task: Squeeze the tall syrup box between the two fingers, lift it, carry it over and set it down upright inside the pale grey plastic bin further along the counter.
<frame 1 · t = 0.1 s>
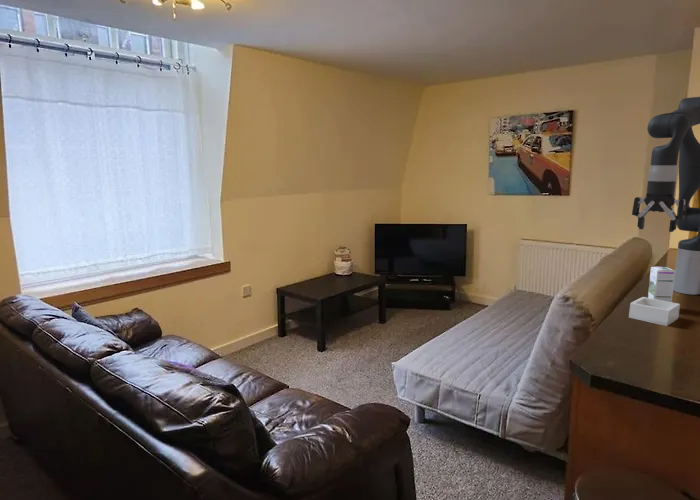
hand: (655, 230, 151), 29 cm above the worktop, tool pointing down, fingers open, 8 cm apart
bin: (653, 318, 155), on the worktop
syrup box: (658, 308, 165), on the worktop
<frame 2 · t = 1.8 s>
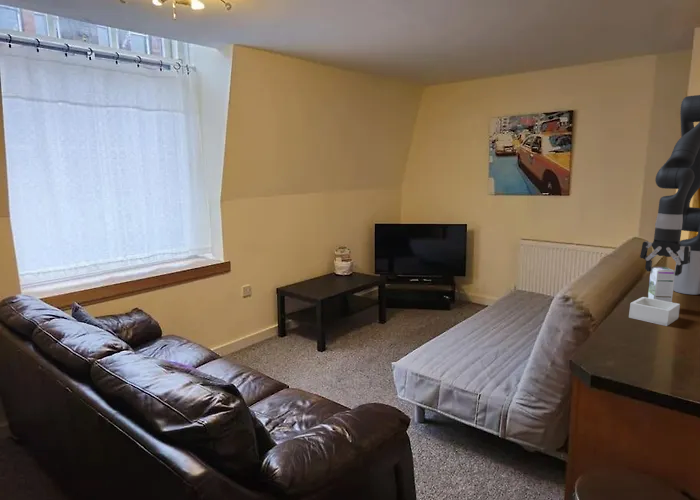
hand: (662, 273, 163), 13 cm above the worktop, tool pointing down, fingers open, 8 cm apart
nothing on the worktop moved.
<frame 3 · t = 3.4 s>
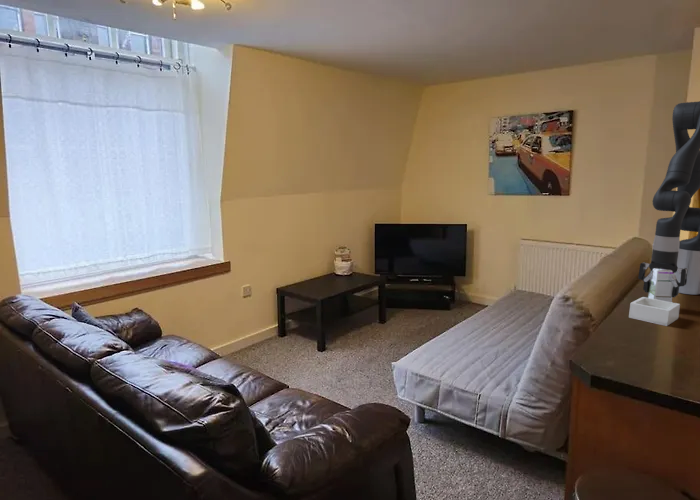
hand: (659, 294, 164), 5 cm above the worktop, tool pointing down, fingers closed on syrup box, 7 cm apart
syrup box: (658, 308, 165), on the worktop, touching gripper
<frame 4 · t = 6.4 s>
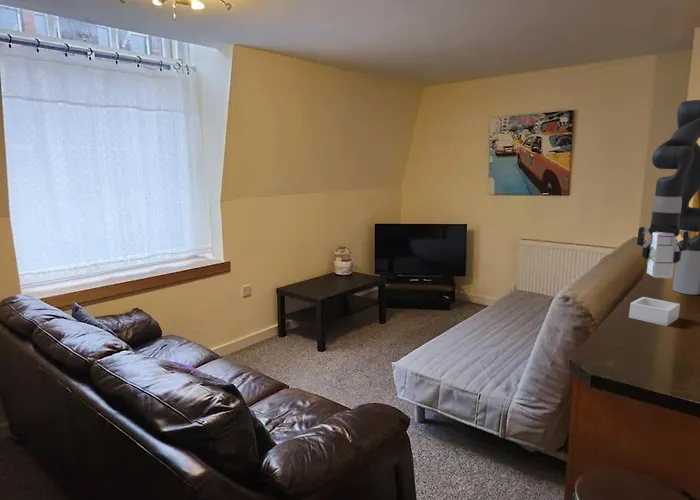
hand: (660, 260, 151), 19 cm above the worktop, tool pointing down, fingers closed on syrup box, 7 cm apart
syrup box: (658, 276, 152), point 14 cm above the worktop, touching gripper
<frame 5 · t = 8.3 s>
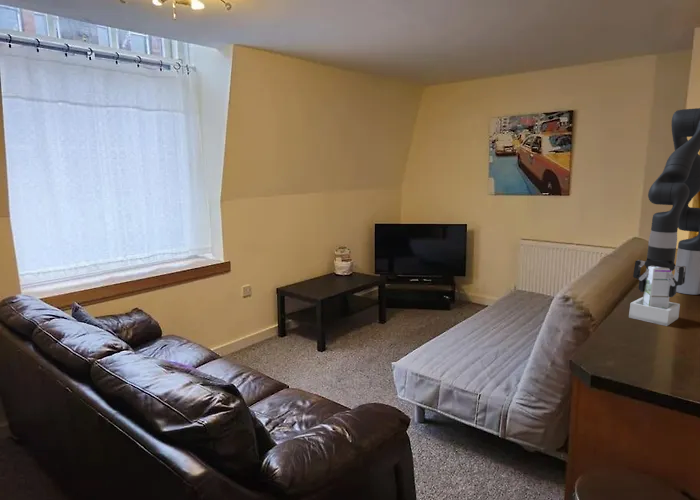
hand: (656, 294, 153), 8 cm above the worktop, tool pointing down, fingers closed on syrup box, 7 cm apart
syrup box: (654, 309, 154), point 3 cm above the worktop, touching gripper
when the fingers open (8 cm above the worktop, at t = 9.5 s): syrup box drops 2 cm, resting on bin.
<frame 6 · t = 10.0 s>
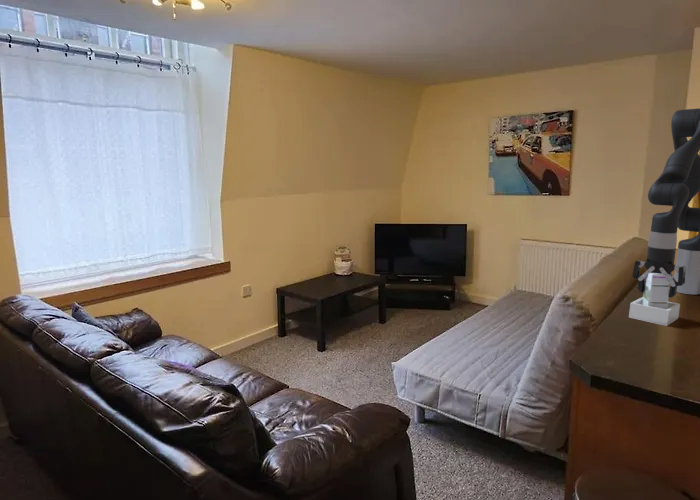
hand: (656, 294, 153), 8 cm above the worktop, tool pointing down, fingers open, 8 cm apart
syrup box: (653, 315, 155), point 1 cm above the worktop, touching bin, gripper
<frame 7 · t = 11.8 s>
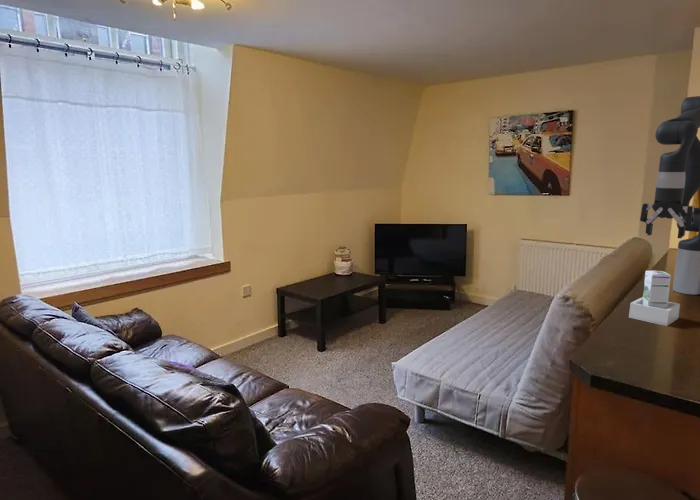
hand: (664, 236, 152), 27 cm above the worktop, tool pointing down, fingers open, 8 cm apart
syrup box: (653, 315, 155), point 1 cm above the worktop, touching bin
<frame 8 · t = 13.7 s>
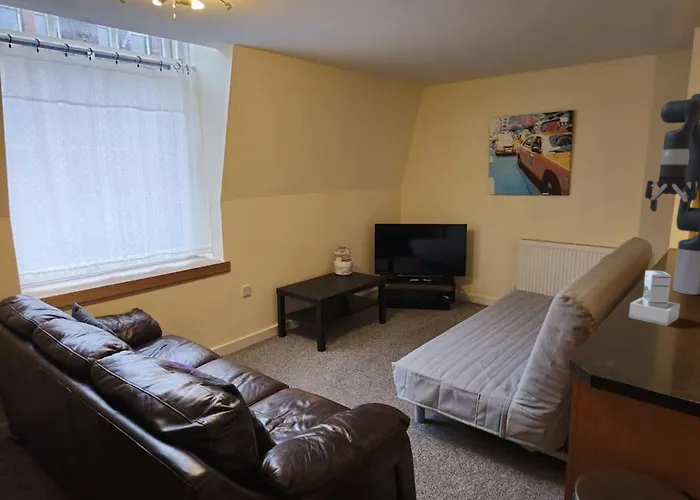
hand: (668, 212, 157), 34 cm above the worktop, tool pointing down, fingers open, 8 cm apart
nothing on the worktop moved.
at the end: syrup box 0.1 cm off-centre on the bin, point 0.8 cm above the bin's base; syrup box tilted 0°; the gripper is holding nothing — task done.
